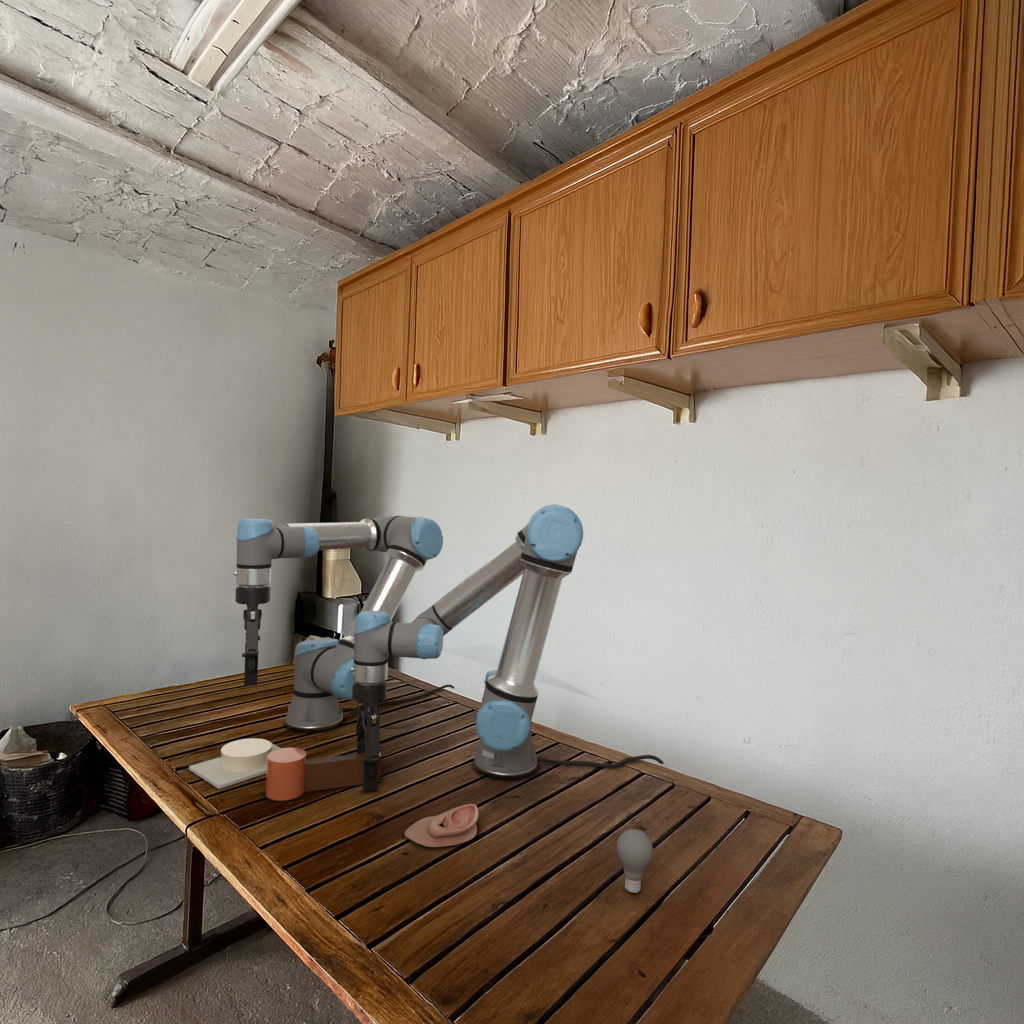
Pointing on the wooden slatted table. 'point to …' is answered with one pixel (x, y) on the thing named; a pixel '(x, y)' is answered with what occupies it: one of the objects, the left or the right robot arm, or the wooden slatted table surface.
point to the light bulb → (634, 857)
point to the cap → (245, 755)
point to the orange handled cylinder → (311, 773)
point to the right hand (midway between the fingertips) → (365, 780)
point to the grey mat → (224, 772)
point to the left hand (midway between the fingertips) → (250, 676)
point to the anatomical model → (445, 827)
